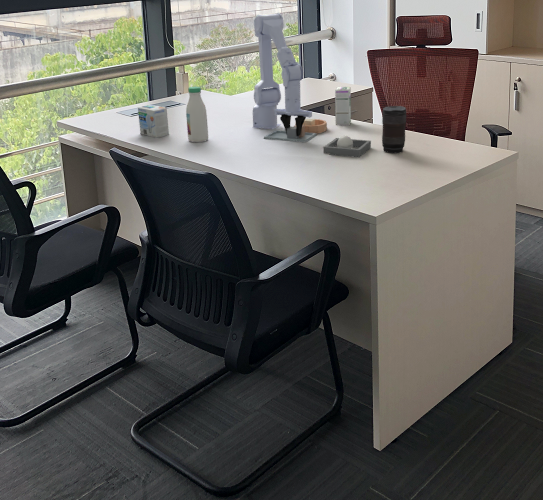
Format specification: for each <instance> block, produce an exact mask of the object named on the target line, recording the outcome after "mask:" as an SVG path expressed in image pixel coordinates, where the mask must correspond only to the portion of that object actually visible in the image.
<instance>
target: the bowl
mask: <svg viewBox="0 0 543 500" xmlns="http://www.w3.org/2000/svg"><path fill="white" fill-rule="evenodd" d="M314 119H315V126H305V132H307V133H316V134H321V133H324V132H326V131H327V129H328V128H327V127H328V126H327V125H328V124H327V123H328V122H327V121H326V120H323V119H320V118H319V119H316V118H314ZM294 124H295V125H296V122H294ZM295 125H294V126H295Z"/></svg>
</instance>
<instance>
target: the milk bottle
mask: <svg viewBox="0 0 543 500" xmlns="http://www.w3.org/2000/svg"><path fill="white" fill-rule="evenodd" d="M201 93H202V89H201V87H200V86H189V87H188V95H189V96H188V102H187V103H186V108H185V115H186V116H185V117H186V127H187V128H186V129H187V139H188V141H189V142H191V143H203V142H207V141H208V140H209V129H208V128H209V126H208V115H207V108H206V105H205V103H204V100H203V98H202V94H201Z"/></svg>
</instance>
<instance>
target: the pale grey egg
mask: <svg viewBox="0 0 543 500" xmlns="http://www.w3.org/2000/svg"><path fill="white" fill-rule="evenodd" d="M338 138H339V139H338V141H337V146H336V147H340V148H351V149H353V147H352V146H353V141H352V139H353V138H351V137H350V136H349V135H342V136H340V137H338Z"/></svg>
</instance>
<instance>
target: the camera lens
mask: <svg viewBox="0 0 543 500" xmlns="http://www.w3.org/2000/svg"><path fill="white" fill-rule="evenodd" d="M381 115H382V116H381V117H382V119H381V124H382V133H381V134H382V135H381V141H382V142H381V144H382V149H383V152H385V153H388V154H399V153H403V151H404V147H405V144H406V124H407V108H406V107H405V106H402V105H390V106H385V107H383V108H382V114H381Z"/></svg>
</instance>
